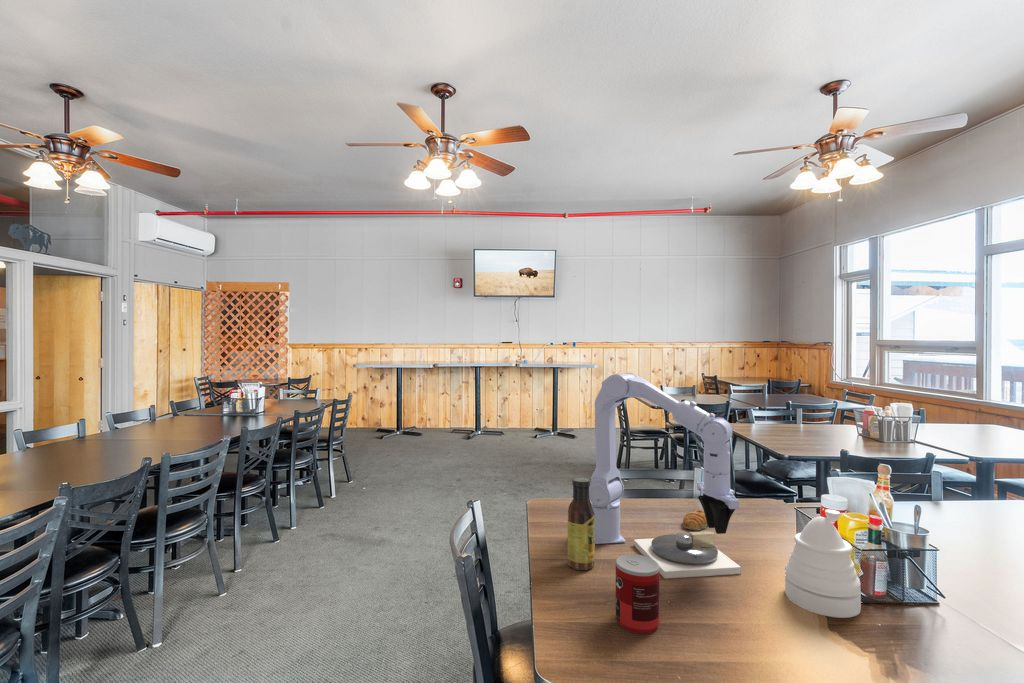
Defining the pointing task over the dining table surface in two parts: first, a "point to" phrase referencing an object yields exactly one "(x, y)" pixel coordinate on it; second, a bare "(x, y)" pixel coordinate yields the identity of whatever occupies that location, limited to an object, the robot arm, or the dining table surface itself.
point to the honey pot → (823, 570)
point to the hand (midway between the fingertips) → (716, 530)
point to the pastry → (695, 520)
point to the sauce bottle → (581, 527)
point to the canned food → (637, 593)
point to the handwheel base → (679, 570)
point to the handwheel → (686, 547)
